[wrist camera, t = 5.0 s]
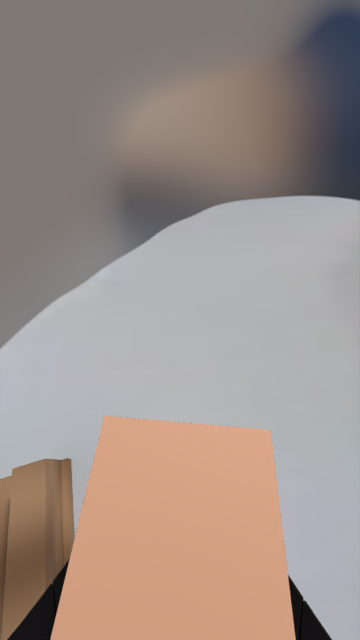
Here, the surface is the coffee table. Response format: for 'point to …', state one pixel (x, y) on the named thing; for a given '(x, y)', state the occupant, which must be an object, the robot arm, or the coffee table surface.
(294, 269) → the coffee table surface
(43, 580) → the rack
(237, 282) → the coffee table surface
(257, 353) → the coffee table surface
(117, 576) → the peach rectangular block
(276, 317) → the coffee table surface
